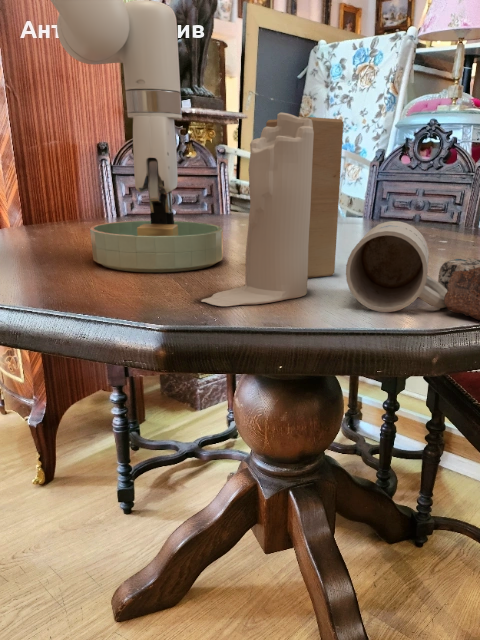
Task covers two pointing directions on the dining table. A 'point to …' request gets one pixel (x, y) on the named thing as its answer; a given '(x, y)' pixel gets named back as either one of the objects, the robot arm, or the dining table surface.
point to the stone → (464, 293)
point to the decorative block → (323, 194)
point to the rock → (456, 268)
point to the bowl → (156, 247)
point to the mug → (392, 269)
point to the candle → (277, 215)
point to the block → (157, 230)
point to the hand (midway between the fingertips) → (163, 239)
